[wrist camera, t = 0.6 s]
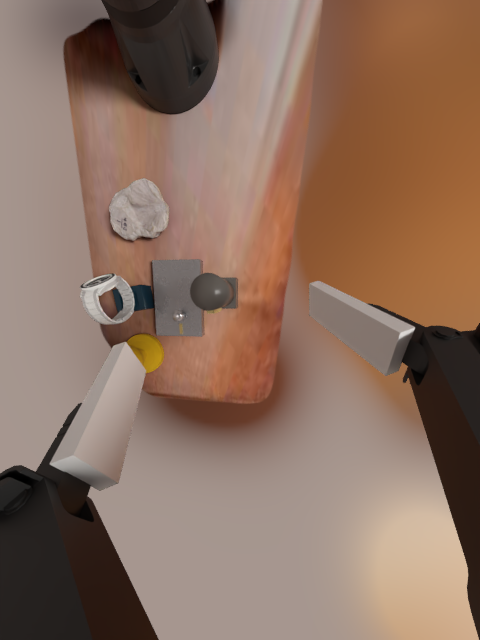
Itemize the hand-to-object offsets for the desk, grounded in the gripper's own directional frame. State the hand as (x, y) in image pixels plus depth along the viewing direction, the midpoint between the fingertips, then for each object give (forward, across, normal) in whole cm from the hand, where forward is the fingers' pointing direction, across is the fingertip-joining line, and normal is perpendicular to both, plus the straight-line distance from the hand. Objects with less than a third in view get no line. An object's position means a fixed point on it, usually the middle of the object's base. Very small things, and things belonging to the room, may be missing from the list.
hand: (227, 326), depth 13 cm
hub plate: (+24, -6, -6) cm, 25 cm away
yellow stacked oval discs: (+23, -17, -14) cm, 32 cm away
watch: (+27, -14, -5) cm, 31 cm away
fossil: (+31, -7, +8) cm, 33 cm away
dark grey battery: (+21, +2, -6) cm, 22 cm away
